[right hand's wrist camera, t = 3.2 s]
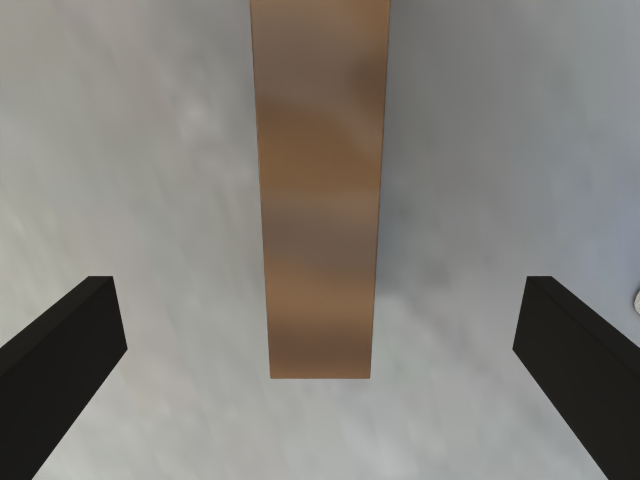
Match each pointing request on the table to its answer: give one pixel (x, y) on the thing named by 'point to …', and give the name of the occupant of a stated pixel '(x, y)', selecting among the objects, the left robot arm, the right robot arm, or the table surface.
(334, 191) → the bar
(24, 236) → the table surface
